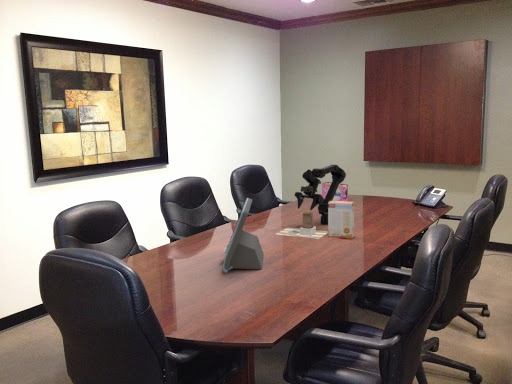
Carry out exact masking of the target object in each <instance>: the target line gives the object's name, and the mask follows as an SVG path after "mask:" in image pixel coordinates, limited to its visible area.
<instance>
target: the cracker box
mask: <svg viewBox="0 0 512 384" xmlns="http://www.w3.org/2000/svg"><path fill="white" fill-rule="evenodd" d="M327 225H328V227H327V229H328V230H327V231H328V233H327V234H328V237H333V238H339V239H349V240H350V239H351V240H352V239H353V238H355V201H330V202H328V224H327Z"/></svg>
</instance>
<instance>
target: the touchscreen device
mask: <svg viewBox="0 0 512 384" xmlns="http://www.w3.org/2000/svg"><path fill="white" fill-rule="evenodd" d="M252 203H253V199H252V198H249V197H246V199H245V200H244V202H243V205H242V207H241V210H240V211H239V212H240V213H239V215H238V217H237V221H236V224H235V226H234V229H233V232H232V233H231V236H230V239H229V240H228V242H227V245H226V246H225V247H224V248H223V251H222V253H223V254H225V257H224V259H223V260H224V261H223V262H222V263H223V264H222V270H223V273H225V274H227V273H228V272H229V271H230V270H232V269H237V270H238V269H239V270H241V269H242V270H244V269H245V270H263V267H264V257H265V253H264V251H263V248H262V245H261V243H260V240H259V237H258V235H255V234H253V233H250V232H247V231H245V230H243V228H244V226H245V223H246V220H247V218H248V215H249V212H250V209H251V206H252Z"/></svg>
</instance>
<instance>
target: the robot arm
mask: <svg viewBox="0 0 512 384" xmlns="http://www.w3.org/2000/svg"><path fill="white" fill-rule="evenodd" d="M329 173H330V175H331V182H332V183H331V185H330V188H329V190H328V192H327V194H326V197H325V199H324V198H323V197H322V194H320V193H317V192H318V188H319V185H322V182H321V179H323V178H325V177H326V175H328V174H329ZM346 177H347V173H346V172H345V170H344V169H342V167H340V166H339V165H338V164H330V165H327V166H324V167H319V168H317V167H316V168H312V169H307V170H306V171H304V172H303V173H302V178H303V180H304V181H305V182H307V183H308V185H306V186H302V185H301V186H300V191H295V193H294V195H293V196H294V197H295V198H296V199H297V209H300V208H301V207H302V205H303V203H304V201H305V200H304V199H312V203H311V205H310V208H309V210H310V211H312V210H314V208H316V207H317V211H318V215H320V224H321V225H328V202H330V201H332V200H333V198H334V195H335V193H336V191H337V188H338V186H339V184H342V183H343V182H344V181H345V179H346Z"/></svg>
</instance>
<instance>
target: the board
mask: <svg viewBox="0 0 512 384" xmlns="http://www.w3.org/2000/svg"><path fill="white" fill-rule="evenodd" d="M327 234H328V230H318V229H316V233H315V234H314V235H312V236H308V235H300V228H297V227H296V228H295V227H286V228H284V229H282V230H279V231H278V232H276V233H275V235H279V236H288V237H296V238H308V239H318V240H320V239H321V238H323V237H324V236H326V235H327Z"/></svg>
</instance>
